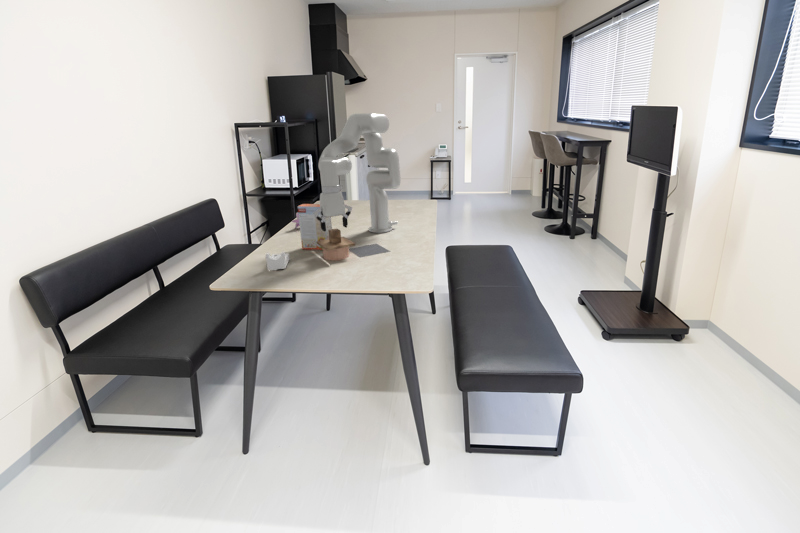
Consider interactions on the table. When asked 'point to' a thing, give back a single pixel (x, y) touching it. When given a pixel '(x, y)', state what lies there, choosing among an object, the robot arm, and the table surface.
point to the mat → (368, 250)
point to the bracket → (277, 261)
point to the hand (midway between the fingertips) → (334, 228)
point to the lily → (296, 220)
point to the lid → (335, 241)
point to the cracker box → (312, 226)
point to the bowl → (336, 254)
